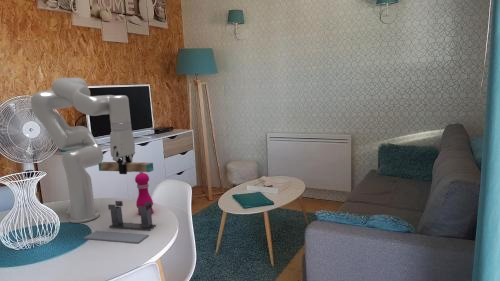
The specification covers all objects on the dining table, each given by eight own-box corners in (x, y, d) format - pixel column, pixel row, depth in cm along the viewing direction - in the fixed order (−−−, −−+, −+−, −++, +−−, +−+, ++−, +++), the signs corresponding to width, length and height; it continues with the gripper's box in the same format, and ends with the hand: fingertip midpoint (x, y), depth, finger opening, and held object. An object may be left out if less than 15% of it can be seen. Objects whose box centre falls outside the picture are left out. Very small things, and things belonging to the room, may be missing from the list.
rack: (108, 228, 157) (105, 204, 155) (116, 223, 162) (114, 200, 160) (149, 231, 151) (146, 206, 149) (156, 226, 156) (153, 202, 154)
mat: (84, 239, 147) (83, 237, 147) (96, 232, 153) (96, 230, 153) (138, 243, 139) (138, 242, 139) (148, 236, 146) (148, 234, 146)
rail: (99, 170, 155) (98, 163, 154) (104, 169, 158) (103, 161, 157) (149, 172, 148) (148, 164, 147) (153, 170, 150) (152, 162, 150)
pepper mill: (156, 210, 176) (151, 167, 173) (150, 215, 169) (146, 171, 165) (141, 210, 176) (136, 168, 173) (134, 216, 169) (130, 172, 166)
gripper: (125, 124, 159) (130, 167, 162) (99, 130, 143) (104, 177, 146) (141, 124, 156) (145, 168, 159) (116, 130, 141) (121, 178, 144)
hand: (126, 172), depth 153 cm, fingers closed on rail, 3 cm apart
